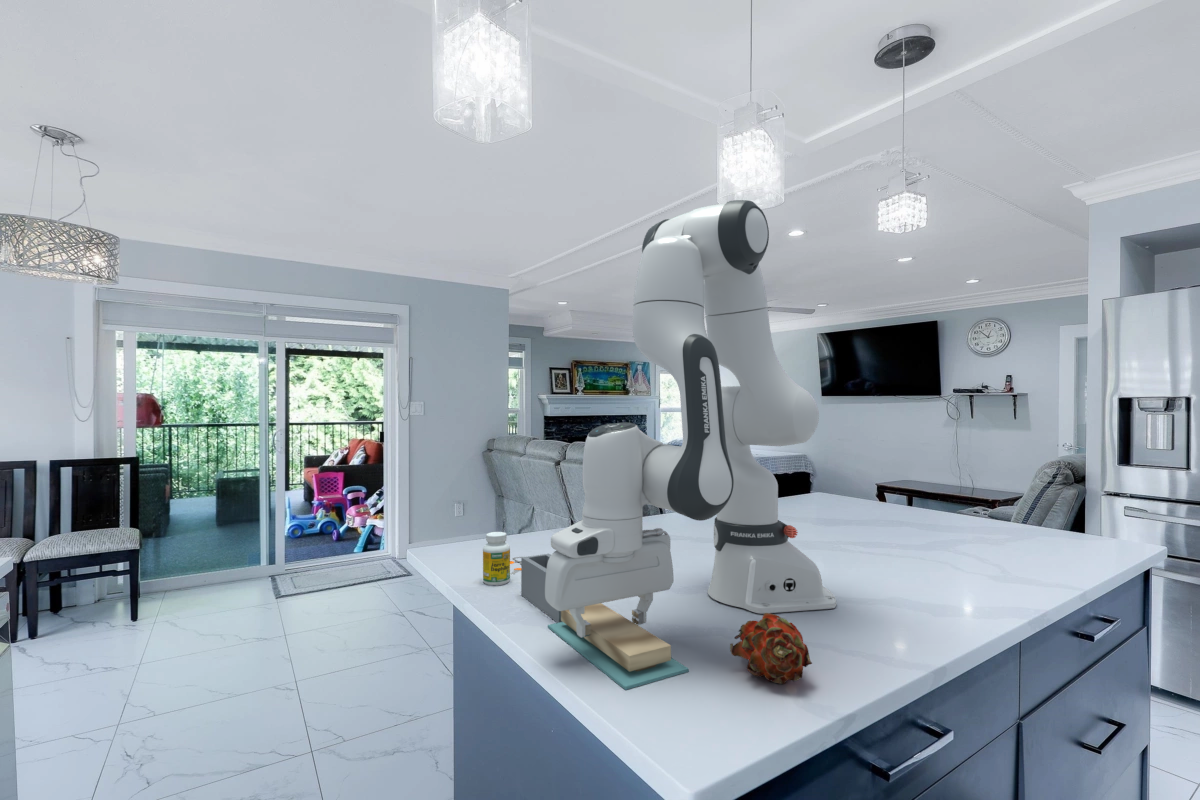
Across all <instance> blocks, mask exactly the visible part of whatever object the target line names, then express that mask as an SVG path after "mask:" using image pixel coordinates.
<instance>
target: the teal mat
mask: <svg viewBox="0 0 1200 800" xmlns="http://www.w3.org/2000/svg"><path fill="white" fill-rule="evenodd" d="M547 629H549V630H550V631H551V632H553V633H554V634H555V635H557V636H558V637H559V638H560V639H562V640H563V642H564V643H566V644H567V645H569V646H570V647H571V648H572V649H573V650H575V651H577V652H578V654H580V655H581V656H582V657H584V658H585V659H586V660H587V661H588V662H589V663H591V664H592V665H594V667H596V668H597V669H598V670H599V671H601V672H602V673H603V674H605V676H607V677H608V678H610V679H611V680H612V681H614V683H616V684H617V685H618V686H619V687H621V688H622V689H623V690H625V691H627V690H631V689H634V688H636V687H637V688H638V687H640V686H644V685H647V684H650V683H655V682H658V681H662V680H666V679H668V678H671V677H672V678H673V677H675V676H678V675H679V676H680V675H681V674H686V673H688V672H690V670H689V669H690V668H688V667H687V666H685V665H684V664H682V663H681V662H679V661H678V660H677V659H674V658H672V657H671V660H670V661H667V662H663V663H659V664H656V666H655V667H652V668H648V669H644V670H641V671H635V670H634V671H630V672H629V671H628V670H627V669H625V668H624V667H623V666H621V665H620V664H619V663H617V662H616V661H615V660H613V659H612V658H611V657H609V656H608V655H607V654H605V653H604V652H603V651H601V650H600V649H599V648H597V647H596V646H595V645H593V644H592V643H590V642H589V641H588V640H586V639H585V638H584V637H582V638H581V637H580V636H578V635H577V632H576V631H574V630H573V629H572V628H570V627H569V626H568V625H566V624H565V623H564V622H559V623H557V622H555V623H550V624H547Z"/></svg>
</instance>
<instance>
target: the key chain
mask: <svg viewBox="0 0 1200 800" xmlns="http://www.w3.org/2000/svg"><path fill="white" fill-rule="evenodd" d="M521 557H522V556H516V557H512V561H511V560H510V565H513V564H515V563H519V564H520V565H521V560H518V559H521ZM518 572H521V567H516V568H514V569H513V571H512V572H510V575H512V574H513V575H516V574H517V573H518Z"/></svg>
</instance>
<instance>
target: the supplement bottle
mask: <svg viewBox="0 0 1200 800" xmlns="http://www.w3.org/2000/svg"><path fill="white" fill-rule="evenodd" d="M507 537H508V536H507V532H504V531H503V532H502V531H493V532H492V531H491V532H488V533H486V535H485V541H486V544H484V545H483V547H482V582H483V583H484V584H485V585H486V586H487V585H488V586H492V585H496V586H503V585H506V584H508V583H509V582H510V581H511V564H510V561H511V547H510V545H509V543H508V542H507V539H508V538H507Z"/></svg>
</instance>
